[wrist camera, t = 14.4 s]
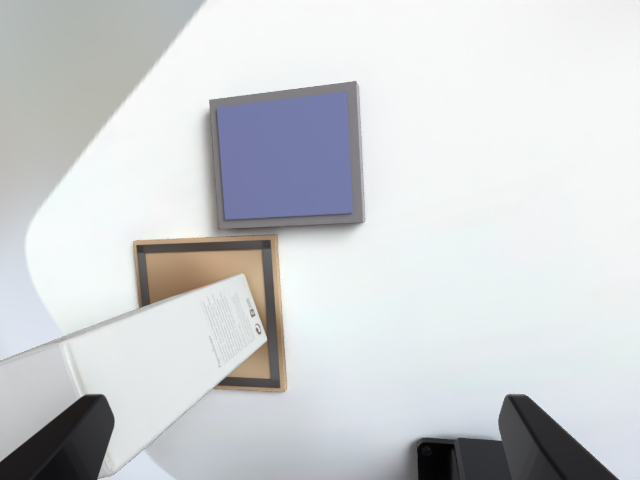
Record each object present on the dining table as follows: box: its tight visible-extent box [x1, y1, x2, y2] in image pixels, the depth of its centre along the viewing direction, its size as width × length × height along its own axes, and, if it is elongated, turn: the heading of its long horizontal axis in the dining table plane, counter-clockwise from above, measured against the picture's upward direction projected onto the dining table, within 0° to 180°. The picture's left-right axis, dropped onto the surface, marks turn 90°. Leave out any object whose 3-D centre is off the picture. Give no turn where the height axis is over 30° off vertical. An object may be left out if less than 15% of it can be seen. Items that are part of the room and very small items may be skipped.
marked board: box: [133, 234, 287, 392], centre depth 24 cm, size 9×9×1 cm
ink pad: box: [209, 81, 365, 229], centre depth 22 cm, size 7×8×1 cm
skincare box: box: [0, 273, 267, 479], centre depth 18 cm, size 6×4×12 cm
